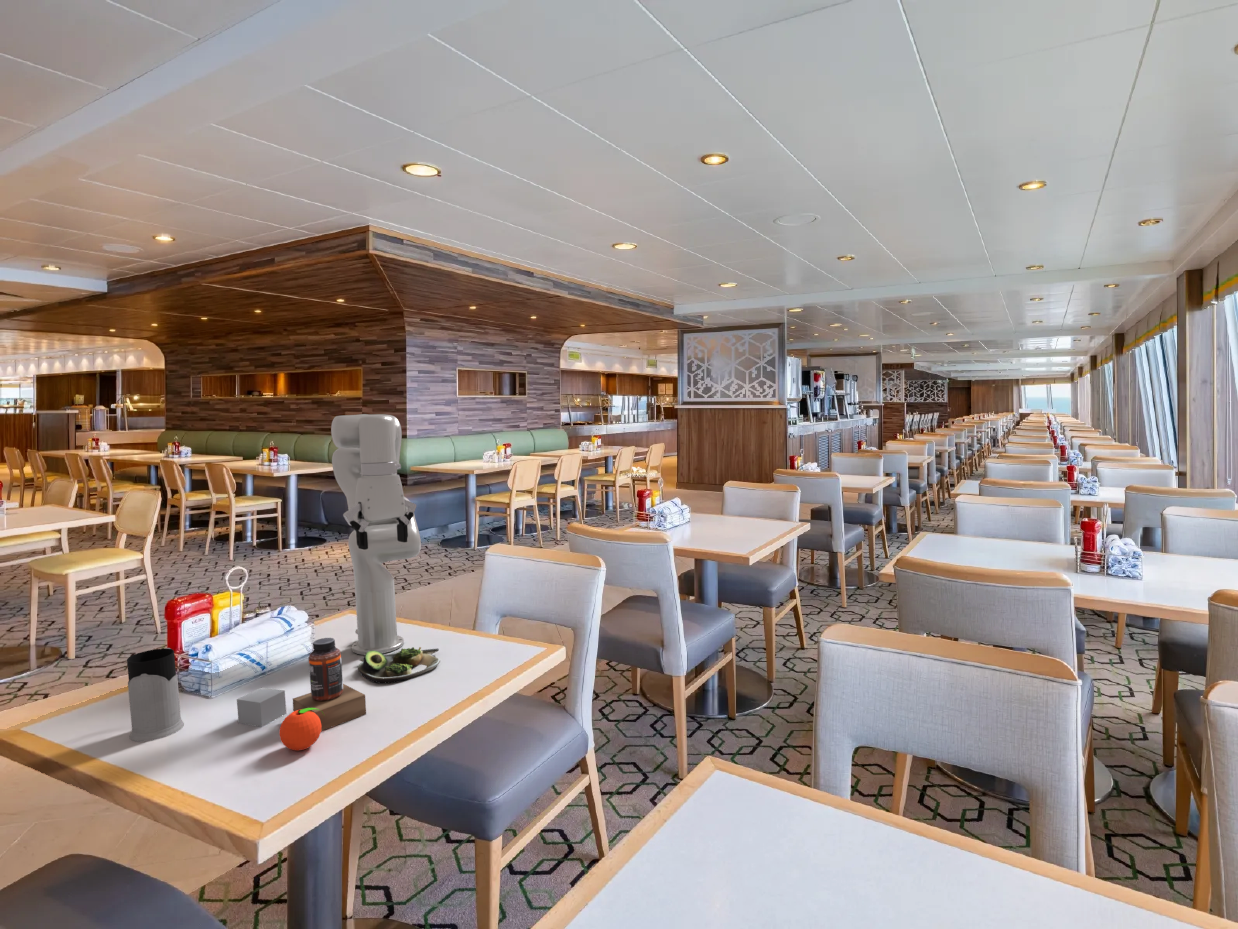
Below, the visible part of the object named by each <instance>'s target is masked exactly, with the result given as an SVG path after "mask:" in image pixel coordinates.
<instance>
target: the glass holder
mask: <svg viewBox="0 0 1238 929" xmlns="http://www.w3.org/2000/svg"><path fill="white" fill-rule="evenodd" d="M126 663H127V666H126V667H127V675H128V682H127V688H128V689H127V690H128V700H129V710H130V713H129V714H130V723H131V732H130V734H129V739H130V740H131V741H133V742H149V741H151V742H152V741H156V740H159V739H163V738H166V737H169V736H171V735H174V734H176V733H177V732H179V731H180V730H182V729H183V727H185V722H184V721H183V719H182V717H181V706H180V693H179V683H178V681H179V679H178V674H177V671H176V656H175V650H174V649H172V648H170V647H164V648H154V649H149V650H144V651H141V652H138V653H135V654H132V655H130V656H129V657H127V659H126Z"/></svg>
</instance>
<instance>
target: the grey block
mask: <svg viewBox="0 0 1238 929" xmlns="http://www.w3.org/2000/svg"><path fill="white" fill-rule="evenodd" d="M286 703H287V702H286V691H285V690H284V689H279V688H278V689H277V688H269V687H263V686H262V687H260V688H257V689H255V690H254V691H251V692H249V693H247V694H245V695H243V696H240V697H238V698H237V699H236V707H237V719H238V720H237V722H238V724H242V725H248V726H253V727H259V728H263V727H265V726H266V725H268V724H270V723H272V722H275V721H276V720H278V719H280V718H281V717H283V716H286V714H287V704H286ZM282 715H283V716H282ZM275 719H276V720H275Z"/></svg>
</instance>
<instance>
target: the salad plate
mask: <svg viewBox="0 0 1238 929" xmlns="http://www.w3.org/2000/svg"><path fill="white" fill-rule="evenodd" d="M400 649H401V650H398V651H396V652H391V653H389V654H384V653H380V652H378V651H369V652H367V653H366V654H365V655H363V658H360V659H359V661H360V663H359V664H358V666H357V670H358V671H359V673H360V675H361V676H362V677H364V679H367V680H368V681H369V682H372V683H376V684H391V683H392V684H394V683H398V682H403V681H406V680H410V679H412V678H414V677H418V676H421V675H424V674H426V673H427V672H430V671H432V670H434V669H435V668H436V667H438V666H439V664H440V663H441V659H440V658H438V657H436V656H433V654H435V653H436V652H439V650H440V648H429V649H427V648H426V649H422V647H421V646H419V647H418V649H416V648H415V647H411V648H410V647H408V648H400ZM418 666H426V667H425V668H424V669H421V670H419V671H415V672H412V669H413V668H415V667H418Z"/></svg>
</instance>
